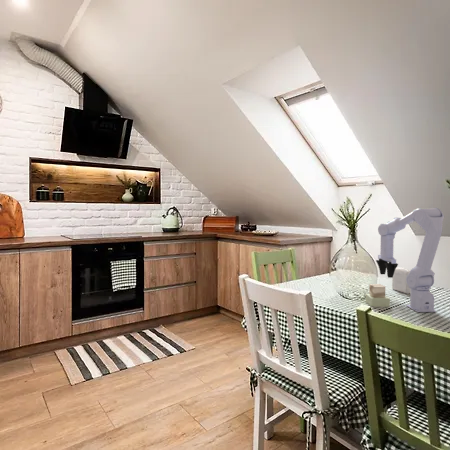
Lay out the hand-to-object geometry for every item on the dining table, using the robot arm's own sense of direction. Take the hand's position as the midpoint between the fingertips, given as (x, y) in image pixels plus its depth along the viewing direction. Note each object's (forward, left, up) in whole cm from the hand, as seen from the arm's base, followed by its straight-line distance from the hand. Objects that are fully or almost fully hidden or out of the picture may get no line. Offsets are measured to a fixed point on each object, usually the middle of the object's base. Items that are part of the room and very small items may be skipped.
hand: (386, 275), depth 172 cm
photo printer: (+10, -13, -11) cm, 20 cm away
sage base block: (-12, +10, -11) cm, 19 cm away
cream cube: (-12, +10, -7) cm, 17 cm away
